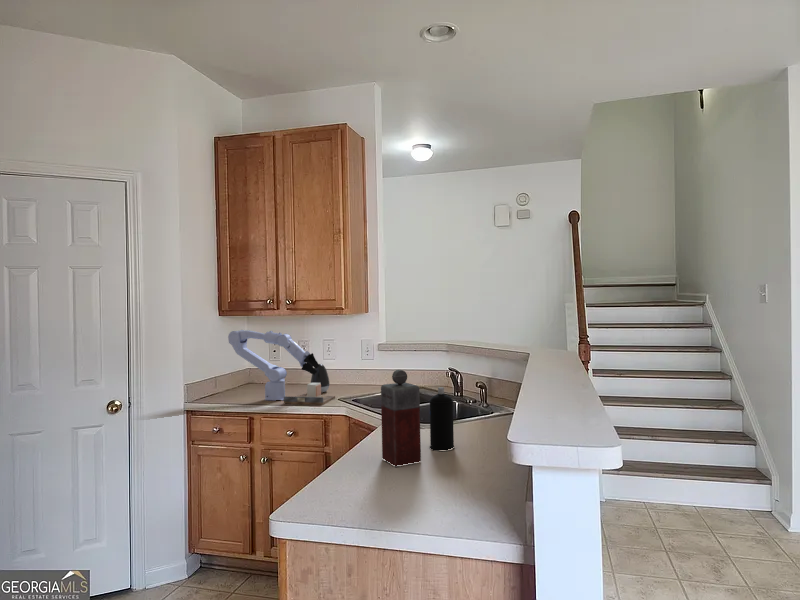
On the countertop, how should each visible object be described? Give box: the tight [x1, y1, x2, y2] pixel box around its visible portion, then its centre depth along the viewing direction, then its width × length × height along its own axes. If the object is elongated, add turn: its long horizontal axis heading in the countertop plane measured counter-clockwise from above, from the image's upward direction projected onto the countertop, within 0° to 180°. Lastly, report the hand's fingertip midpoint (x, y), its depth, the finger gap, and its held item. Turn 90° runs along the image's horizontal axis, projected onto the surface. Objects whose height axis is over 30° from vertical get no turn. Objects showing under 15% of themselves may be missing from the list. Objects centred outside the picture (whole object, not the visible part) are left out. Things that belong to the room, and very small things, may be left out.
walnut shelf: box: [283, 394, 336, 406], centre depth 261 cm, size 20×17×3 cm
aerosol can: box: [428, 386, 455, 451], centre depth 175 cm, size 8×8×20 cm
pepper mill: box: [380, 369, 422, 466], centre depth 163 cm, size 9×11×28 cm
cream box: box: [306, 382, 322, 397], centre depth 263 cm, size 5×7×7 cm
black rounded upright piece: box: [310, 363, 331, 394], centre depth 285 cm, size 10×10×15 cm
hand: (316, 370), depth 263 cm, fingers open, 7 cm apart
